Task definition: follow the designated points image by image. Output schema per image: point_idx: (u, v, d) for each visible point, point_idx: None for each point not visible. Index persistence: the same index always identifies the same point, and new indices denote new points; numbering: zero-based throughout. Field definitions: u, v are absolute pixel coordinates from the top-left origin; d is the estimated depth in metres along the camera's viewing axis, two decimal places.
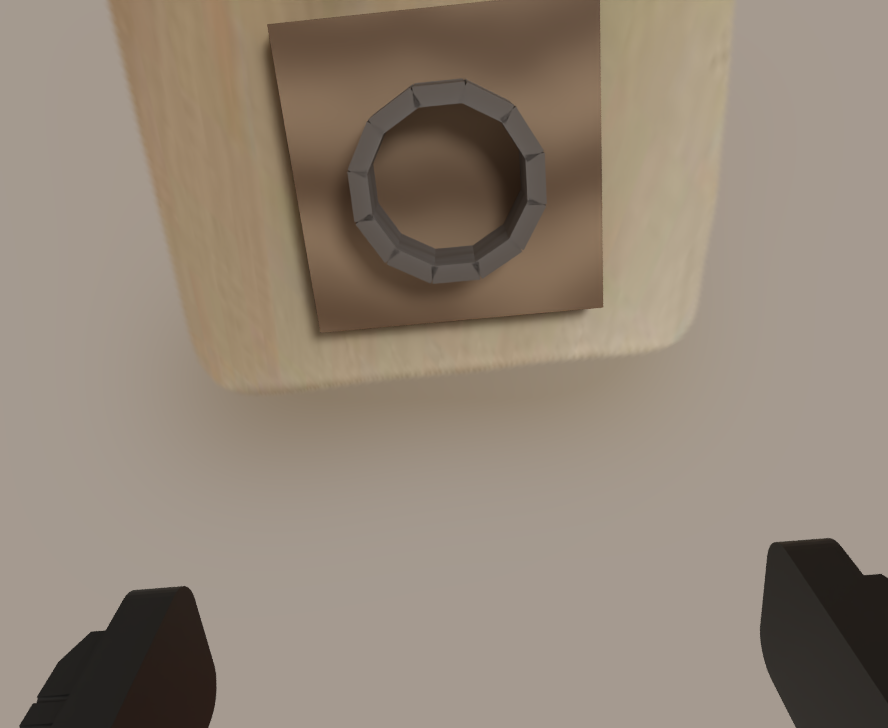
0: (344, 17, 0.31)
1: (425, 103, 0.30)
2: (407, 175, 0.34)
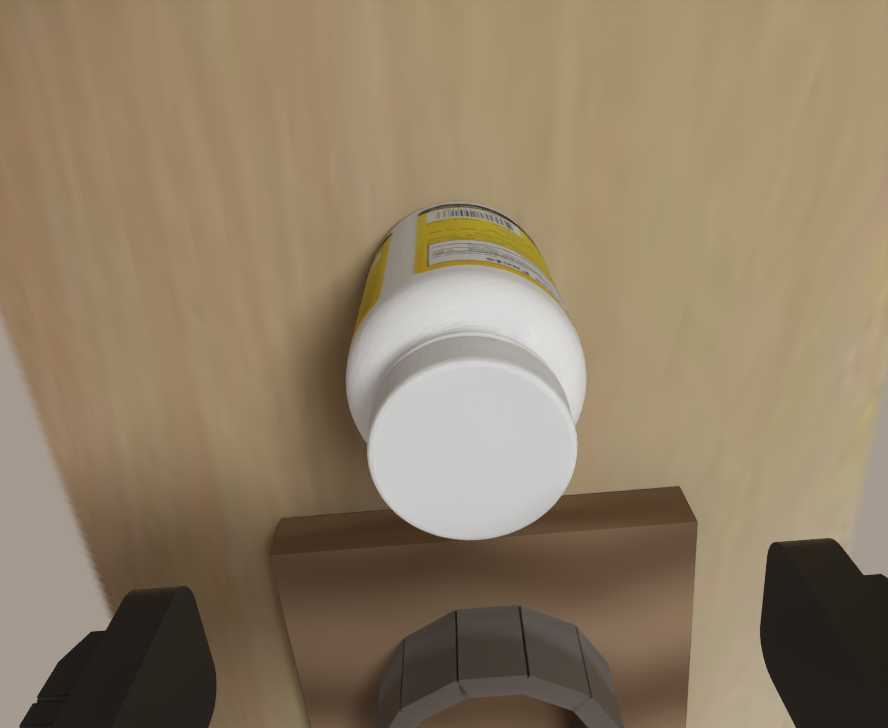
0: (368, 548, 0.24)
1: (475, 695, 0.23)
2: None
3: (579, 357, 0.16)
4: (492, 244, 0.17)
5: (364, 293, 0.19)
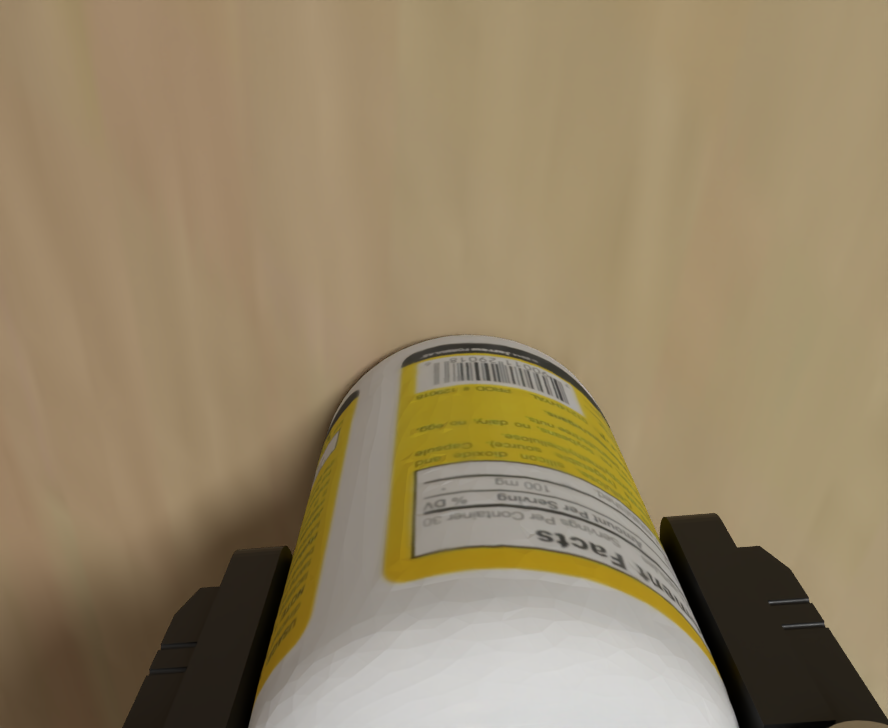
0: None
1: None
2: None
3: None
4: (541, 472, 0.09)
5: (301, 531, 0.10)
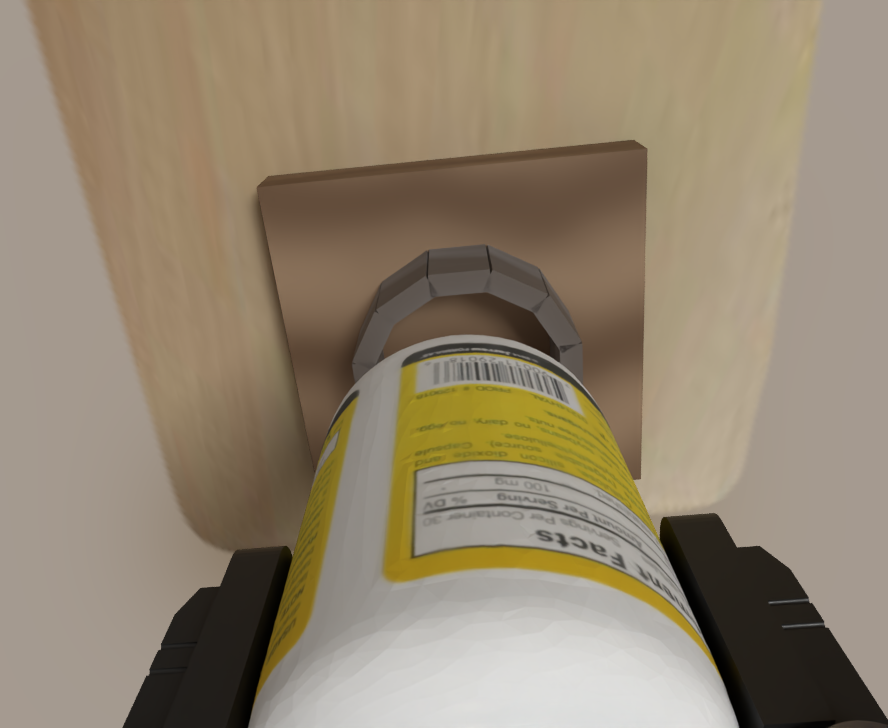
0: (347, 179, 0.27)
1: (443, 292, 0.25)
2: None
3: None
4: (541, 471, 0.09)
5: (301, 531, 0.10)
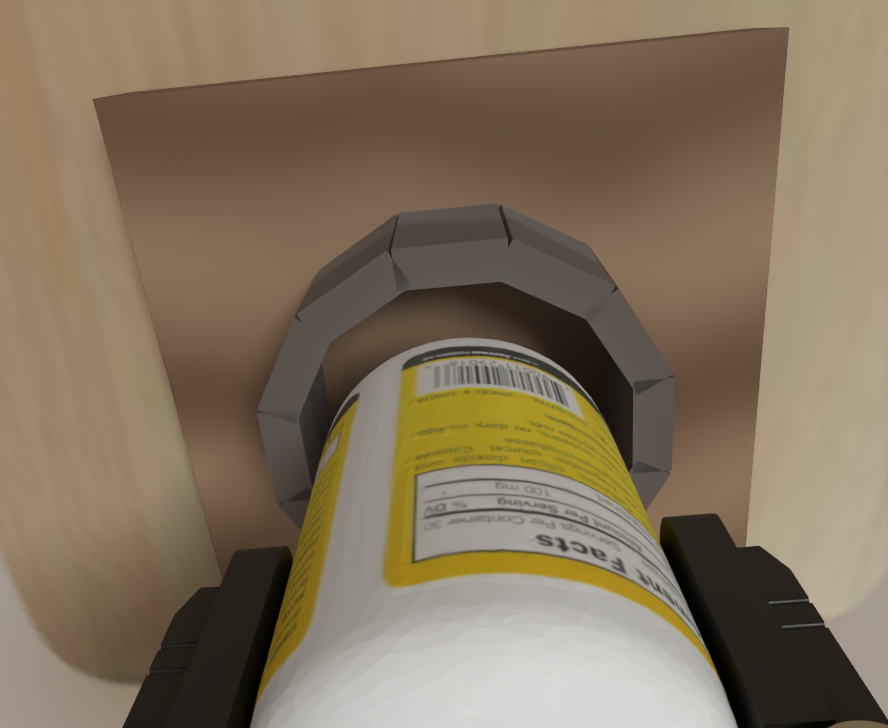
0: (252, 85, 0.15)
1: (420, 282, 0.14)
2: None
3: None
4: (541, 476, 0.09)
5: (301, 534, 0.10)
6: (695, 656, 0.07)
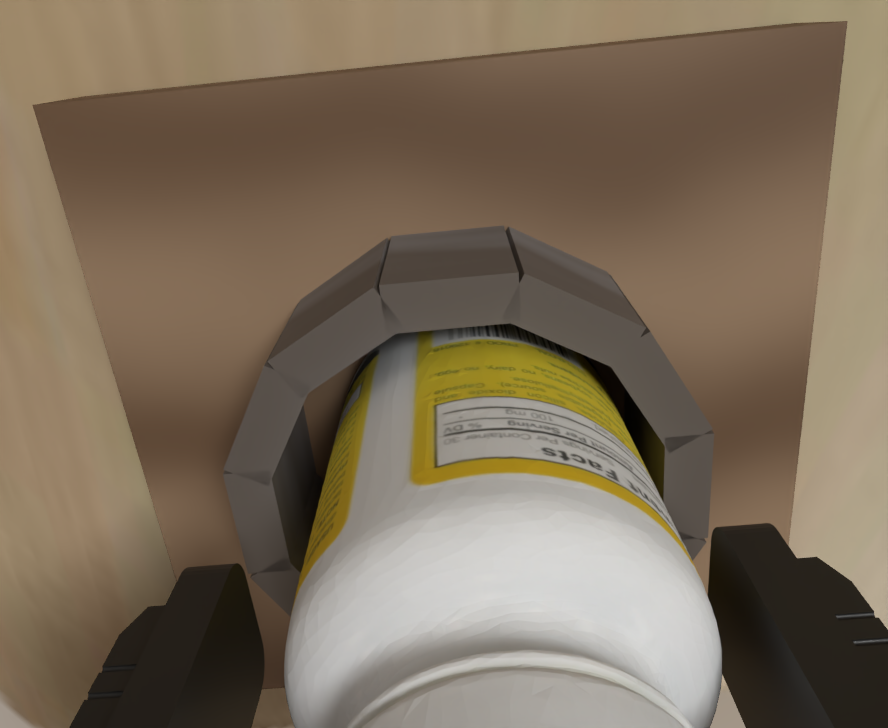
0: (218, 88, 0.13)
1: (414, 324, 0.11)
2: None
3: (716, 646, 0.09)
4: (546, 406, 0.10)
5: (330, 466, 0.12)
6: (677, 548, 0.09)
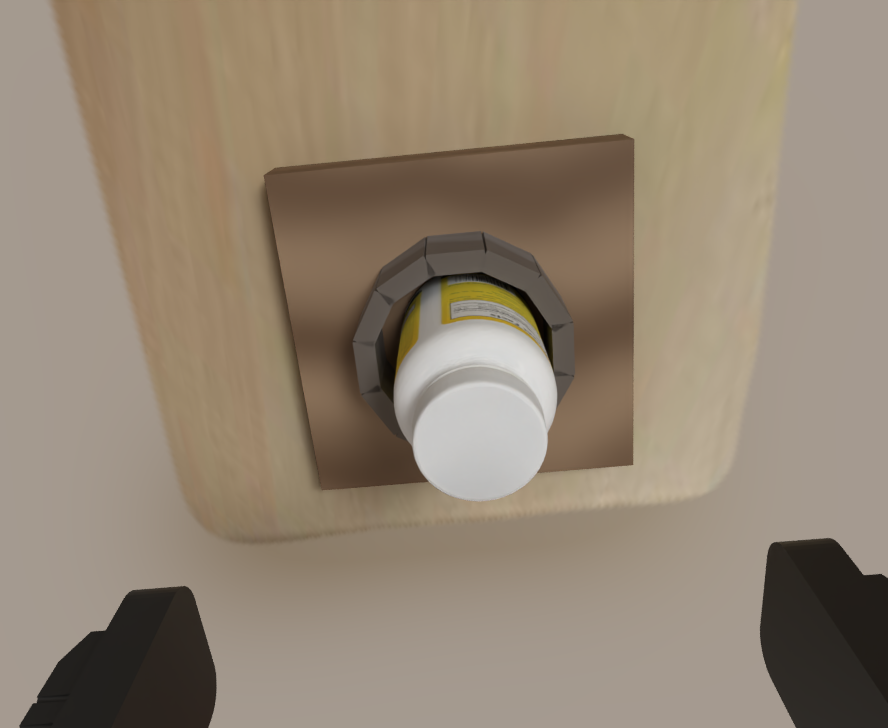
0: (349, 168, 0.28)
1: (440, 272, 0.27)
2: None
3: (552, 382, 0.24)
4: (494, 303, 0.25)
5: (403, 335, 0.27)
6: (538, 348, 0.24)
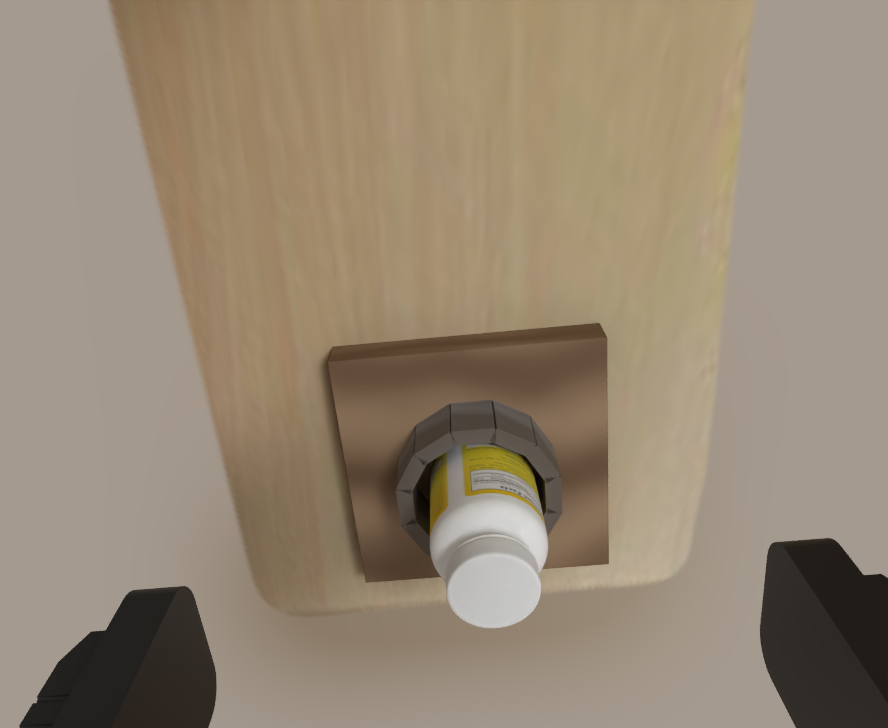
0: (392, 357, 0.37)
1: (462, 443, 0.36)
2: None
3: (544, 538, 0.33)
4: (502, 472, 0.35)
5: (434, 488, 0.36)
6: (535, 512, 0.33)
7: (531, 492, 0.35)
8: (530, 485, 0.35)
